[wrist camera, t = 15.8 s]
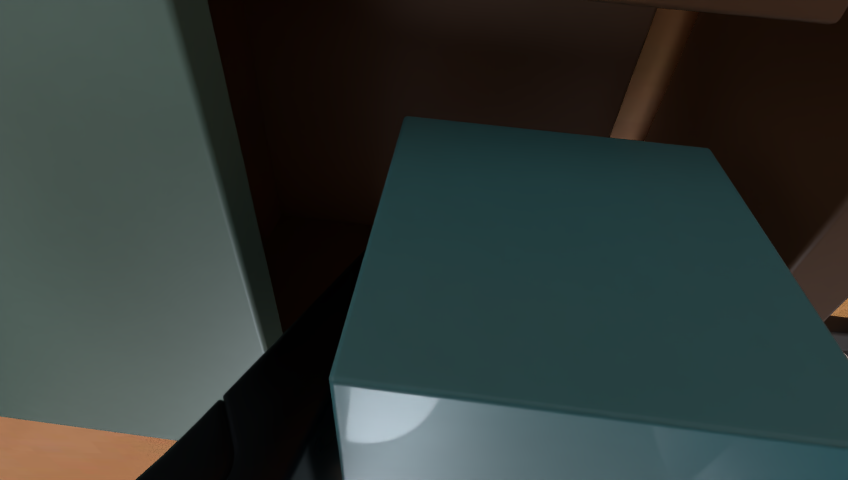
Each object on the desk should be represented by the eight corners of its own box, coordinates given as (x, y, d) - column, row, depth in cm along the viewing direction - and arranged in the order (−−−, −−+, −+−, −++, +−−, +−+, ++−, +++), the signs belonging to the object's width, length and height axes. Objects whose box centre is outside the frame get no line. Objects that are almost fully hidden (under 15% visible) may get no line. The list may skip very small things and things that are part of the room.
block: (610, 334, 10) (671, 597, 7) (397, 308, 10) (350, 552, 7) (710, 147, 7) (917, 456, 4) (403, 114, 7) (325, 380, 4)
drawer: (1108, -136, 9) (1938, -68, 4) (769, 283, 16) (891, 490, 11) (191, -213, 9) (-155, -244, 4) (275, 224, 17) (185, 396, 12)
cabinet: (352, -239, 10) (73, -347, 3) (365, 230, 18) (296, 458, 12) (-281, -291, 10) (-1605, -471, 4) (21, 190, 19) (-226, 386, 12)
